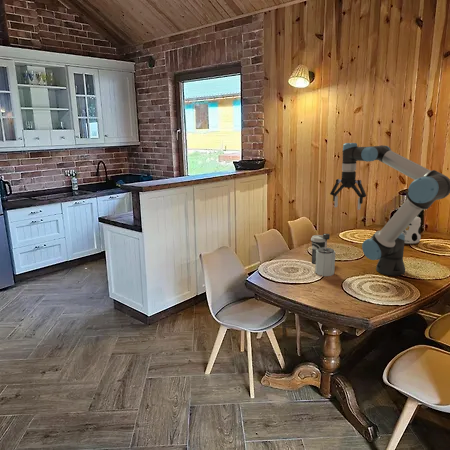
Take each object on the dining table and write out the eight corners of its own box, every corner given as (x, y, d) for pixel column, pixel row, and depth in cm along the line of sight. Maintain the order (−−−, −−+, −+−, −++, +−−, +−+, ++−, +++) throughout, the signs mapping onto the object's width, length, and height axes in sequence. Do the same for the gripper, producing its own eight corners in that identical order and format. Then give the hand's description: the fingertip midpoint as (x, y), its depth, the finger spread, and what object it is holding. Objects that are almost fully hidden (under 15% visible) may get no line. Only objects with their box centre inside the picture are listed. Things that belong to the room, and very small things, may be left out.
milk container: (390, 243, 268) (392, 218, 264) (395, 237, 282) (397, 213, 278) (417, 247, 259) (420, 221, 254) (421, 241, 272) (424, 216, 268)
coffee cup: (326, 262, 234) (327, 239, 230) (310, 262, 236) (310, 238, 232) (325, 257, 243) (326, 234, 239) (310, 257, 245) (310, 234, 241)
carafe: (336, 272, 218) (337, 249, 215) (328, 277, 211) (329, 253, 208) (316, 267, 227) (317, 245, 224) (307, 272, 220) (308, 249, 217)
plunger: (333, 264, 217) (334, 234, 213) (327, 267, 212) (328, 236, 208) (322, 261, 222) (323, 232, 217) (316, 264, 217) (317, 234, 212)
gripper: (373, 171, 211) (371, 209, 216) (330, 169, 226) (329, 205, 231) (369, 172, 205) (366, 211, 210) (325, 170, 221) (324, 207, 226)
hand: (347, 208), depth 221 cm, fingers open, 13 cm apart
